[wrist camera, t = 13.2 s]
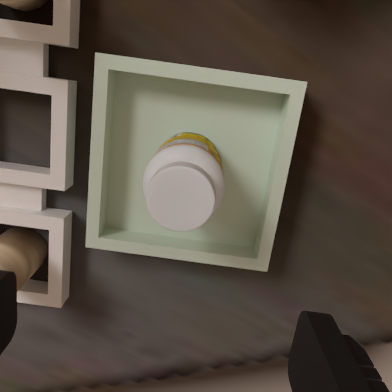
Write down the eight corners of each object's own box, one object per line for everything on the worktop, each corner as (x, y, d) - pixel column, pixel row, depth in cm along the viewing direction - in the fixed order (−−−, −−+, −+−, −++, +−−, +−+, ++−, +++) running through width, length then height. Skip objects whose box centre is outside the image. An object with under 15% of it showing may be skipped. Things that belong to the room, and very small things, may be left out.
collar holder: (-38, -99, 26) (-58, -113, 24) (83, -81, 26) (73, -94, 24) (-22, 283, 35) (-35, 295, 33) (69, 295, 35) (61, 308, 33)
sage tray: (106, 55, 29) (95, 52, 26) (297, 82, 29) (307, 81, 26) (95, 233, 33) (85, 247, 30) (262, 255, 33) (267, 271, 30)
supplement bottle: (162, 125, 29) (140, 143, 20) (228, 138, 30) (237, 162, 20) (151, 189, 31) (127, 233, 22) (214, 201, 31) (217, 250, 22)
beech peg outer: (-1, 222, 33) (-64, 264, 26) (48, 229, 33) (0, 272, 26) (0, 266, 34) (-59, 319, 27) (47, 272, 34) (1, 326, 27)
